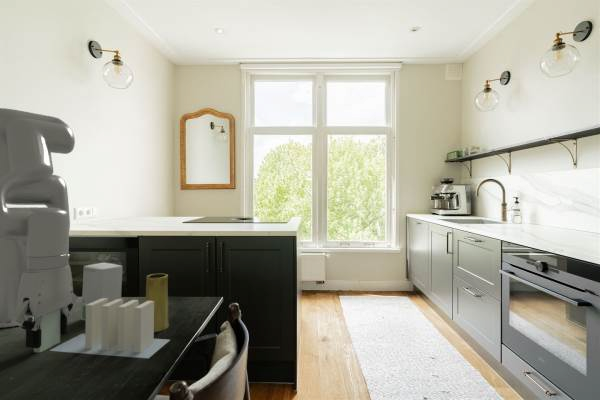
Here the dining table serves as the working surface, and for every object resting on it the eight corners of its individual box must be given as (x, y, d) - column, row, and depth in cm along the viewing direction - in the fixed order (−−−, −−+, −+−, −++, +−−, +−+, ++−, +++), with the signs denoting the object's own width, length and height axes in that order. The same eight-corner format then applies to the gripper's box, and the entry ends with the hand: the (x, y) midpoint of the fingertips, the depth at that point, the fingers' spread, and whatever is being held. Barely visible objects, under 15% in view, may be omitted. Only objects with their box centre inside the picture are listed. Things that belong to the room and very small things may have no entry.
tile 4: (117, 350, 70) (117, 306, 70) (132, 341, 75) (132, 299, 75) (123, 351, 70) (124, 307, 70) (138, 341, 75) (138, 300, 75)
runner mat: (49, 352, 70) (49, 350, 70) (81, 335, 79) (81, 333, 79) (148, 360, 67) (148, 358, 67) (170, 341, 76) (170, 339, 76)
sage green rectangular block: (33, 353, 69) (34, 309, 69) (53, 343, 74) (54, 301, 74) (40, 354, 69) (40, 309, 69) (59, 344, 74) (60, 302, 74)
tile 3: (101, 349, 70) (101, 305, 70) (116, 339, 75) (117, 298, 75) (107, 350, 70) (108, 306, 70) (122, 340, 75) (123, 299, 75)
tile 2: (85, 348, 71) (85, 304, 71) (101, 338, 76) (102, 298, 76) (91, 349, 71) (92, 305, 71) (107, 339, 76) (108, 298, 76)
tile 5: (133, 352, 70) (134, 307, 70) (147, 342, 74) (147, 300, 74) (140, 352, 69) (141, 308, 69) (153, 342, 74) (154, 300, 74)
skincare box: (80, 320, 88) (81, 266, 88) (103, 313, 94) (103, 261, 94) (100, 325, 85) (101, 268, 85) (122, 317, 91) (123, 264, 91)
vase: (159, 334, 80) (159, 279, 80) (138, 332, 81) (139, 277, 81) (173, 325, 86) (174, 273, 86) (153, 323, 87) (154, 272, 87)
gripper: (66, 255, 81) (65, 324, 81) (-7, 270, 63) (-9, 358, 63) (92, 256, 80) (91, 326, 80) (25, 271, 63) (24, 360, 63)
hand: (47, 339), depth 72 cm, fingers open, 5 cm apart
